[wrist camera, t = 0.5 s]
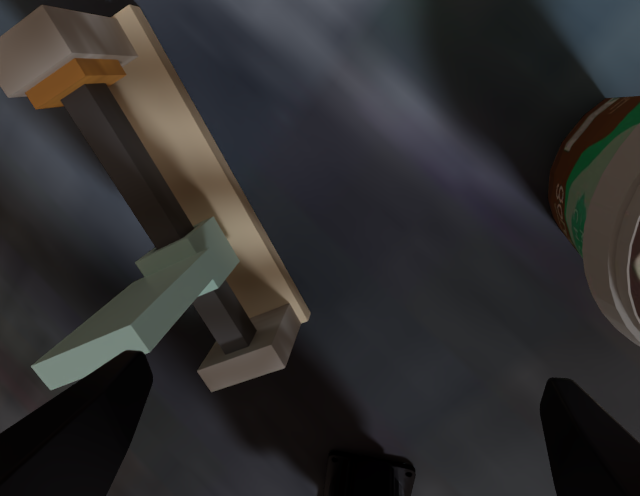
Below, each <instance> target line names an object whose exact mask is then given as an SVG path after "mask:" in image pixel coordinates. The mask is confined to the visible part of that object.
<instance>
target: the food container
mask: <svg viewBox="0 0 640 496" xmlns="http://www.w3.org/2000/svg"><path fill="white" fill-rule="evenodd" d="M548 200H549V204H550V208H551V212H552V215H553V218H554V220H555V221H556V223H557V225H558V227H559V228H560V230H561V231H562V232H563V233H564V235H565V236H566V237H567V239H568V240H569V241H570V243H571V244H572V245H573V246H574V248H575V249H576V250H577V252H578V253H579V254H580V255H581V257H582V258H583V262H584V271H585V275H586V278H587V281H588V285H589V288H590V291H591V294H592V296H593V297H594V299H595V301H596V303H597V304H598V306H599V308H600V310H601V311H602V313H603V314H604V315H605V316H606V318H607V319H608V320H609V321H610V322H611V323H612V324H613V326H614V327H615V328H616V329H617V330H618V331H620V332H621V333H622V334H623V335H625V336H626V337H627V338H628V339H630V340H631V341H632V342H634V343H635V344H637V345H638V346H640V96H634V97H618V98H605V99H604V100H603V101H602V102H600V103H599V104H598V105H596V106H595V107H594V108H593V109H591V110H590V111H589V112H587V113H586V114H585V115H584V116H583V117H582V118H581V119H580V121H579V122H578V123H577V124H576V126H575V127H574V128H573V129H572V131H571V132H570V133H569V134H568V136H567V137H566V138H565V139H564V140H563V142H562V144H561V146H560V148H559V151H558V153H557V155H556V158H555V160H554V162H553V165H552V167H551V169H550V176H549V189H548Z"/></svg>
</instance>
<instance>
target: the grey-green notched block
mask: <svg viewBox="0 0 640 496" xmlns="http://www.w3.org/2000/svg"><path fill="white" fill-rule="evenodd" d="M193 227H194V229H193V230H192V231H191V232H190V233H188V234H187V235H186V236H185V237H183V238H182V239H180V240H178V241H175V242H173V243H171V244H169V245H167V246H165V247H163V248H161V249H159V250H157V249H156V247H155V248H153V249H152V250H151V251H149V252H148V253H147V254H145V255H144V256H143V257H141V258H140V259H139V260H137V261H136V262H135V263H136V265H137V266H138V268H139V269H140V271H141V272H142V274H143V275H144V278H141V279H139V280H137V281H135V282H133V283H132V284H130V285H129V286H128V287H127V288H125V289H124V290H123V291H122V292H121V293H119V294H118V295H117V296H116V297H114V298H113V299H112V300H111V301H110V302H108V303H107V304H106V305H105V306H104V307H102V308H101V309H100V310H99V311H97V312H96V313H95V314H94V315H93V316H91V317H90V318H89V319H88V320H86V321H85V322H84V323H83V324H82V325H80V326H79V327H78V328H77V329H75V330H74V331H73V332H72V333H71V334H69V335H68V336H67V337H66V338H64V339H63V340H62V341H61V342H60V343H58V344H57V345H56V346H55V347H54V348H52V349H51V350H50V351H49V352H47V353H46V354H45V355H44V356H43V357H41V358H40V359H39V360H38V361H36V362H35V363H34V364H33V365H32V366H31V367H32V368H33V370H34V371H35V372H36V373H37V374H38V376H39V377H40V378H41V379H42V381H43V382H44V383H45V384H46V385H47V387H48V388H49V389H50V390H53V389H56V388H58V387H61V386H63V385H66V384H69V383H71V382H74V381H76V380H79V379H82V378H84V377H86V376H87V375H89V374H90V373H92V372H93V371H95V370H96V369H98V368H99V367H101V366H102V365H104V364H105V363H107V362H108V361H110V360H111V359H113V358H114V357H116V356H117V355H119V354H120V353H122V352H123V351H125V350H137V351H142V352H143V353H145V354H147V353H149V352H151V351H152V349H153V348H154V347H155V346H156V345H157V344H158V342H159V341H160V340H161V339H162V338H163V337H164V335H165V334H166V333H167V332H168V331H169V330H170V328H171V327H172V326H173V325H174V324H175V323H176V321H177V320H178V319H179V318H180V317H181V316H182V314H183V313H184V312H185V311H186V310H187V309H188V307H189V306H190V305H191V304H192V303H193V302H194V300H195V299H196V298H197V297H199V296H201V295H203V294H206V293H208V292H211V291H213V290H216V289H218V288H219V287H220V286H221V284H222V283H223V282H224V281H225V279H226V278H227V277H228V276H229V274H230V273H231V272H232V271H233V269H234V268H235V267H236V266H237V264H238V263H239V262H240V260H239V259H238V257H237V255H236V254H235V252H234V250H233V249H232V247H231V245H230V243H229V242H228V240H227V238H226V237H225V235H224V233H223V232H222V230H221V228H220V227H219V225H218V223H217V221H216V220H215V218H214V216H213V217H211V218H209V219H207V220H204V221H202V222H200V223H198V224H196V225H194V226H193Z"/></svg>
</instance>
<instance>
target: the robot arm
mask: <svg viewBox="0 0 640 496" xmlns="http://www.w3.org/2000/svg"><path fill="white" fill-rule="evenodd" d="M152 382H153V374H152V371H151V369H150V366H149V363H148V361H147V358H146V355H145V353H143V352H142V351H137V350H125V351H123V352H122V353H120V354H119V355H117V356H116V357H114V358H113V359H111V360H110V361H108V362H107V363H105V364H104V365H102V366H101V367H99V368H98V369H96V370H95V371H93V372H92V373H90V374H89V375H87V376H86V377H84V378H83V379H81V380H80V381H78V382H77V383H75V384H74V385H72V386H71V387H69V388H68V389H66V390H65V391H63V392H62V393H60V394H59V395H57V396H56V397H54V398H53V399H51V400H50V401H48V402H47V403H45V404H44V405H42V406H41V407H39V408H38V409H36V410H35V411H33V412H32V413H30V414H29V415H27V416H26V417H24V418H23V419H21V420H20V421H18V422H17V423H15V424H14V425H12V426H11V427H9V428H8V429H6V430H5V431H3V432H2V433H0V496H106V495H107V492H108V490H109V488H110V486H111V484H112V482H113V480H114V478H115V476H116V474H117V472H118V469H119V467H120V465H121V463H122V461H123V459H124V457H125V455H126V453H127V450H128V448H129V446H130V443H131V441H132V438H133V436H134V433H135V430H136V428H137V425H138V422H139V419H140V417H141V414H142V411H143V408H144V406H145V403H146V400H147V397H148V395H149V392H150V389H151V386H152ZM540 416H541V421H542V426H543V431H544V436H545V441H546V446H547V451H548V457H549V462H550V467H551V472H552V477H553V481H554V486H555V490H556V494H557V496H640V443H639V442H638V441H637V440H636V439H635V438H634V437H633V436H632V435H631V434H630V433H629V432H628V431H626V430H625V429H624V428H623V427H622V426H621V425H620V424H619V423H618V422H617V421H616V420H615V419H614V418H613V417H612V416H610V415H609V414H608V413H607V412H606V411H605V410H604V409H603V408H602V407H601V406H600V405H599V404H598V403H597V402H596V401H595V400H593V399H592V398H591V397H590V396H589V395H588V394H587V393H586V392H585V391H584V390H583V389H582V388H581V387H580V386H579V385H578V384H576V383H575V382H574V381H573V380H571V379H568V378H553V377H552V378H549V379H548V381H547V383H546V386H545V390H544V393H543V396H542V399H541V403H540ZM334 457H335V458H334ZM415 476H416V474H415V468H414V467H413V466H411V465H407V464H402V463H397V462H392V461H386V460H381V459H376V458H371V457H366V456H360V455H355V454H350V453H345V452H340V451H331V452H330V453H329V456H328V463H327V471H326V478H325V486H324V493H323V496H411V492H412V488H413V484H414V480H415Z"/></svg>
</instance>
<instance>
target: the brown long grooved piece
mask: <svg viewBox="0 0 640 496" xmlns="http://www.w3.org/2000/svg"><path fill="white" fill-rule="evenodd" d="M0 87H1V88H2V89H3V91H4V92H5V94H6V95H7V97H8V98H12V97H26V96H27V97H28V99H29V100H30V101H31V103H32V104H33V106H34V107H35V109H44V108H53V107H62V106H64V107H65V108H66V110H67V111H68V113H69V115H70V116H71V118H72V119H73V121H74V122H75V124H76V125H77V127H78V128H79V130H80V131H81V133H82V135H83V136H84V138H85V139H86V141H87V142H88V144H89V145H90V147H91V148H92V150H93V152H94V153H95V155H96V156H97V158H98V159H99V161H100V162H101V164H102V165H103V167H104V168H105V170H106V172H107V173H108V175H109V176H110V178H111V179H112V181H113V182H114V184H115V185H116V187H117V188H118V190H119V192H120V193H121V195H122V196H123V198H124V199H125V201H126V202H127V204H128V205H129V207H130V208H131V210H132V212H133V213H134V215H135V216H136V218H137V219H138V221H139V222H140V224H141V225H142V227H143V229H144V230H145V232H146V233H147V235H148V236H149V238H150V239H151V241H152V242H153V244H154V245H155V247H156V249H157V250H159V249H161V248H163V247H165V246H167V245H169V244H171V243H173V242H175V241H178V240H180V239H182V238H183V237H185V236H186V235H187V234H188V233H190V232H191V231H192V230H193V229H194V227H193V226H194V225H196V224H198V223H200V222H202V221H204V220H207V219H209V218H211V217H213V216H214V218H215V220H216V221H217V223H218V225H219V227H220V228H221V230H222V232H223V233H224V235H225V237H226V238H227V240H228V242H229V243H230V245H231V247H232V249H233V250H234V252H235V254H236V255H237V257H238V259H239V260H240V262H239V263H238V264H237V266H236V267H235V268H234V269H233V271H232V272H231V273H230V274H229V276H228V277H227V278H226V279H225V281H224V282H223V283H222V284H221V286H220V287H219V288H218V289H216V290H213V291H211V292H208V293H206V294H203V295H201V296H199V297H197V298H196V299H195V300H194V302H193V303H192V304H193V306H194V307H195V309H196V310H197V312H198V313H199V315H200V316H201V318H202V319H203V321H204V322H205V324H206V326H207V327H208V329H209V330H210V332H211V333H212V335H213V336H214V338H215V339H216V342H215V344H214V345H213V347H212V348H211V350H210V351H209V353H208V354H207V356H206V357H205V359H204V361H203V362H202V364H201V365H200V367H199V368H198V370H197V372H198V374H199V375H200V376H201V378H202V379H203V381H204V382H205V384H206V385H207V387H208V388H209V390H210V391H211V392H214V391H217V390H220V389H223V388H226V387H229V386H232V385H235V384H238V383H241V382H244V381H247V380H250V379H253V378H256V377H259V376H262V375H265V374H268V373H271V372H274V371H277V370H280V369H283V368H285V367H286V365H287V362H288V359H289V356H290V353H291V351H292V348H293V345H294V342H295V339H296V337H297V334H298V331H299V328H300V325H301V323H304V322H307V321H308V319H309V316H310V311H309V309H308V307H307V305H306V304H305V302H304V300H303V298H302V296H301V295H300V293H299V291H298V289H297V287H296V286H295V284H294V282H293V280H292V279H291V277H290V275H289V273H288V271H287V270H286V268H285V266H284V264H283V262H282V261H281V259H280V257H279V255H278V254H277V252H276V250H275V248H274V246H273V245H272V243H271V241H270V239H269V237H268V236H267V234H266V232H265V230H264V228H263V227H262V225H261V223H260V221H259V220H258V218H257V216H256V214H255V212H254V211H253V209H252V207H251V205H250V203H249V202H248V200H247V198H246V196H245V195H244V193H243V191H242V189H241V187H240V186H239V184H238V182H237V180H236V178H235V177H234V175H233V173H232V171H231V169H230V168H229V166H228V164H227V162H226V161H225V159H224V157H223V155H222V153H221V152H220V150H219V148H218V146H217V144H216V143H215V141H214V139H213V137H212V136H211V134H210V132H209V130H208V128H207V127H206V125H205V123H204V121H203V119H202V118H201V116H200V114H199V112H198V111H197V109H196V107H195V105H194V103H193V102H192V100H191V98H190V96H189V94H188V93H187V91H186V89H185V87H184V85H183V84H182V82H181V80H180V78H179V77H178V75H177V73H176V71H175V69H174V68H173V66H172V64H171V62H170V60H169V59H168V57H167V55H166V53H165V52H164V50H163V48H162V46H161V44H160V43H159V41H158V39H157V37H156V35H155V34H154V32H153V30H152V28H151V26H150V25H149V23H148V21H147V19H146V18H145V16H144V14H143V12H142V10H141V9H140V7H137V6H133V5H128V6H126V7H125V8H123V9H122V10H121V11H119V12H118V13H116V14H115V15H114V16H112V17H111V18H110V17H105V16H100V15H94V14H89V13H84V12H78V11H73V10H68V9H62V8H57V7H52V6H46V5H41V6H39V7H38V8H37V9H36V10H34V11H33V12H32V13H30V14H29V15H28V16H27V17H25V18H24V19H23V20H21V21H20V22H19V23H18V24H16V25H15V26H14V27H12V28H11V29H10V30H9V31H7V32H6V33H5V34H3V35H2V36H1V37H0Z"/></svg>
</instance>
